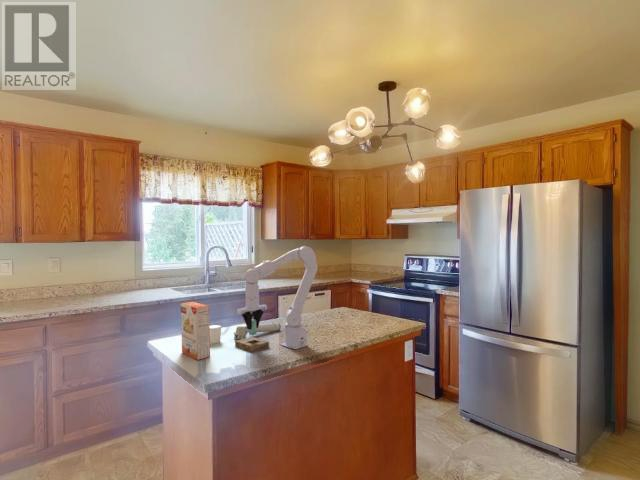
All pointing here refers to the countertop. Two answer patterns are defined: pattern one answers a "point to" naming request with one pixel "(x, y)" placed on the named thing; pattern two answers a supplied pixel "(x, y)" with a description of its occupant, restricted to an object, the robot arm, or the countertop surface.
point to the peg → (253, 328)
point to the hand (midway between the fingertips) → (252, 328)
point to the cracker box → (195, 330)
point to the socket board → (251, 344)
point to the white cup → (215, 333)
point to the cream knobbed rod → (243, 330)
